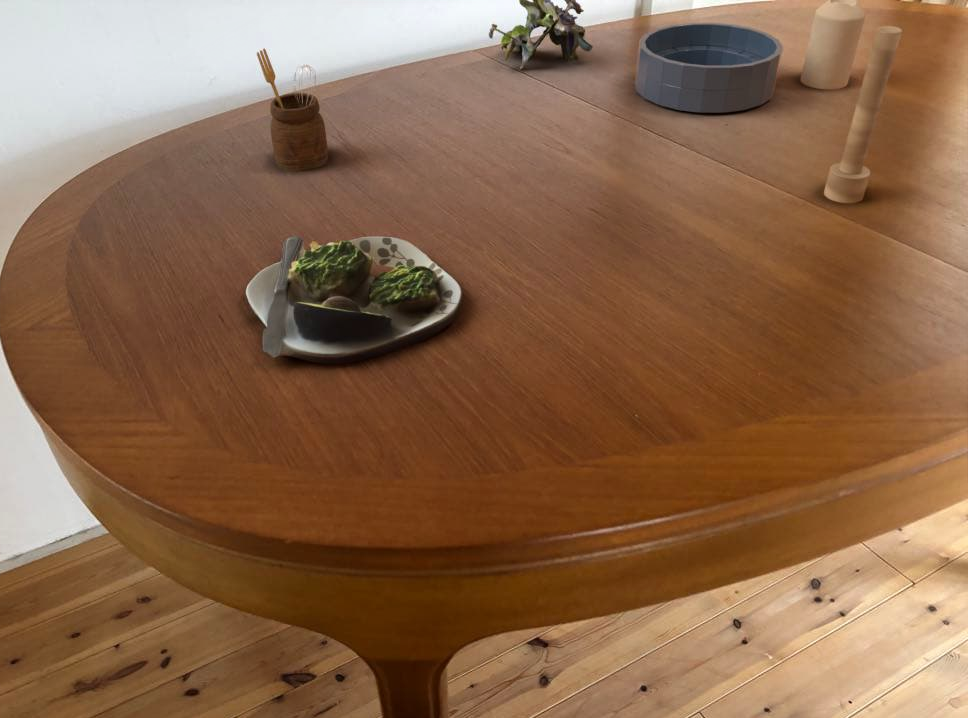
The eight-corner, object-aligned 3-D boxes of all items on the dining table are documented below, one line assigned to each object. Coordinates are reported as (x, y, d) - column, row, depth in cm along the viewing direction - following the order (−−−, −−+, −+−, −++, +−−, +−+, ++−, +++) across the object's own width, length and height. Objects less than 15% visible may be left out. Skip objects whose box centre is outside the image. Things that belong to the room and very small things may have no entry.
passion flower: (564, 100, 124) (615, 37, 114) (505, 106, 118) (554, 40, 108) (528, 36, 126) (575, -31, 116) (469, 38, 120) (513, -32, 110)
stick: (856, 190, 88) (905, 22, 78) (866, 207, 85) (917, 35, 75) (819, 190, 89) (862, 23, 78) (827, 206, 86) (873, 36, 76)
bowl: (759, 70, 115) (768, 22, 111) (783, 119, 102) (795, 67, 98) (630, 70, 117) (635, 23, 113) (639, 119, 104) (645, 67, 100)
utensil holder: (313, 178, 95) (298, 65, 88) (263, 170, 98) (244, 59, 90) (339, 156, 100) (326, 46, 92) (290, 148, 102) (274, 41, 94)
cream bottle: (835, 96, 107) (857, 8, 101) (791, 86, 110) (810, 1, 104) (854, 82, 110) (876, -3, 104) (811, 73, 113) (830, -10, 107)
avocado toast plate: (209, 278, 80) (198, 233, 77) (386, 228, 86) (383, 184, 83) (283, 394, 67) (273, 344, 64) (487, 325, 73) (487, 276, 70)
